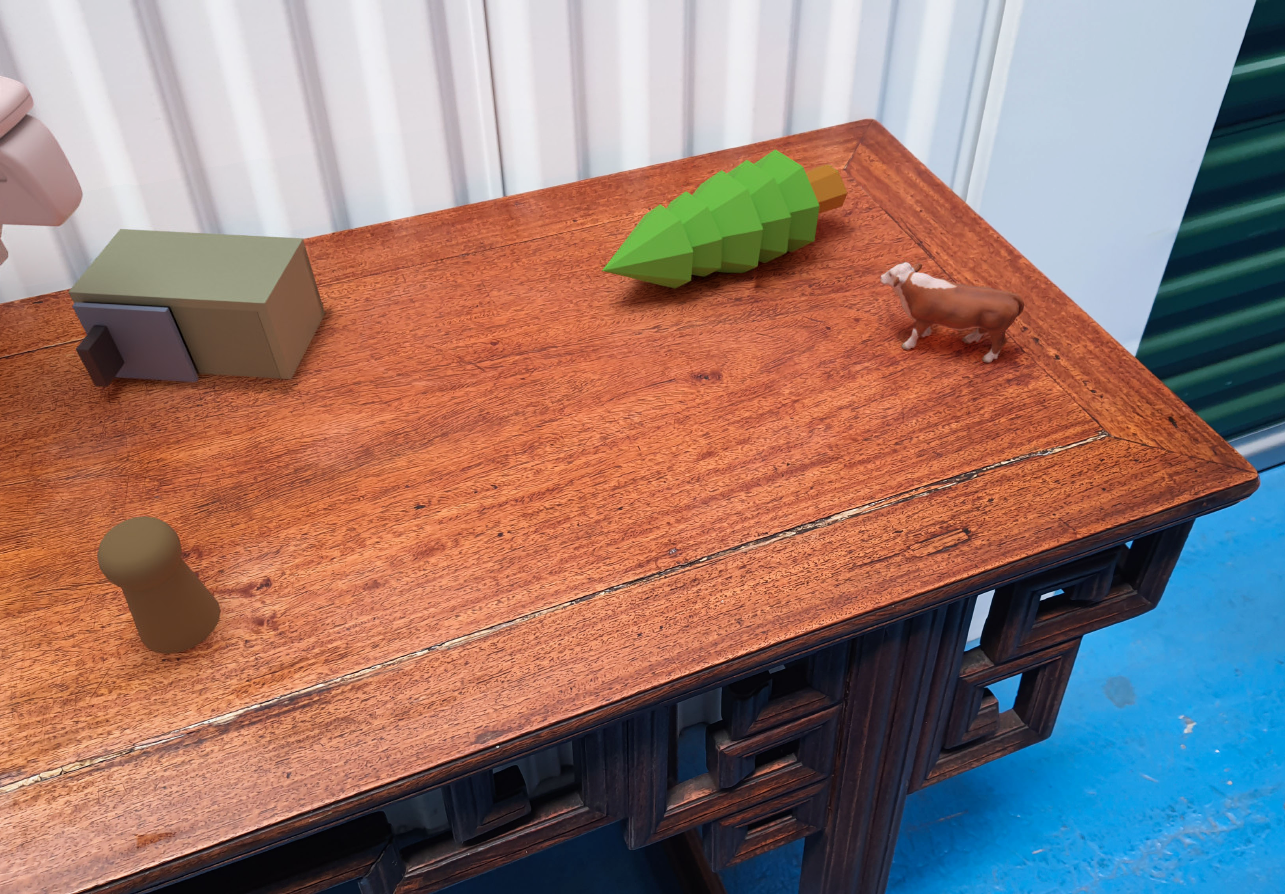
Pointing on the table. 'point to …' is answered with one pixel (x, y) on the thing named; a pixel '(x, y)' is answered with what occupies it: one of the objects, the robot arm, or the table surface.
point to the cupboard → (216, 295)
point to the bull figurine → (953, 306)
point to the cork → (158, 585)
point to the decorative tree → (730, 222)
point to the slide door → (132, 344)
